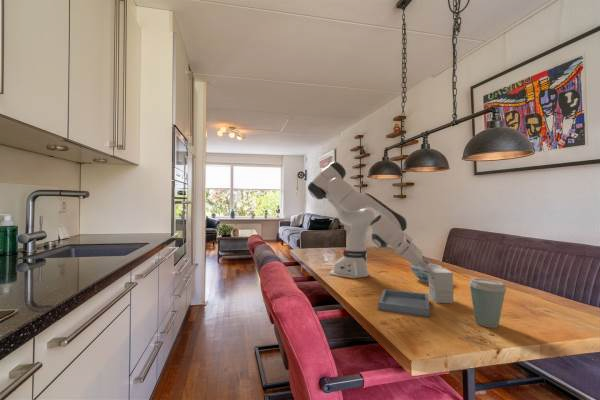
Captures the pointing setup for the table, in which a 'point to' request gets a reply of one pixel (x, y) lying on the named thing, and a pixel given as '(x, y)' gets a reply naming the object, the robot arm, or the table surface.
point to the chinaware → (423, 271)
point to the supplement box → (441, 285)
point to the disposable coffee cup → (487, 301)
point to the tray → (404, 302)
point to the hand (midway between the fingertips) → (428, 266)
